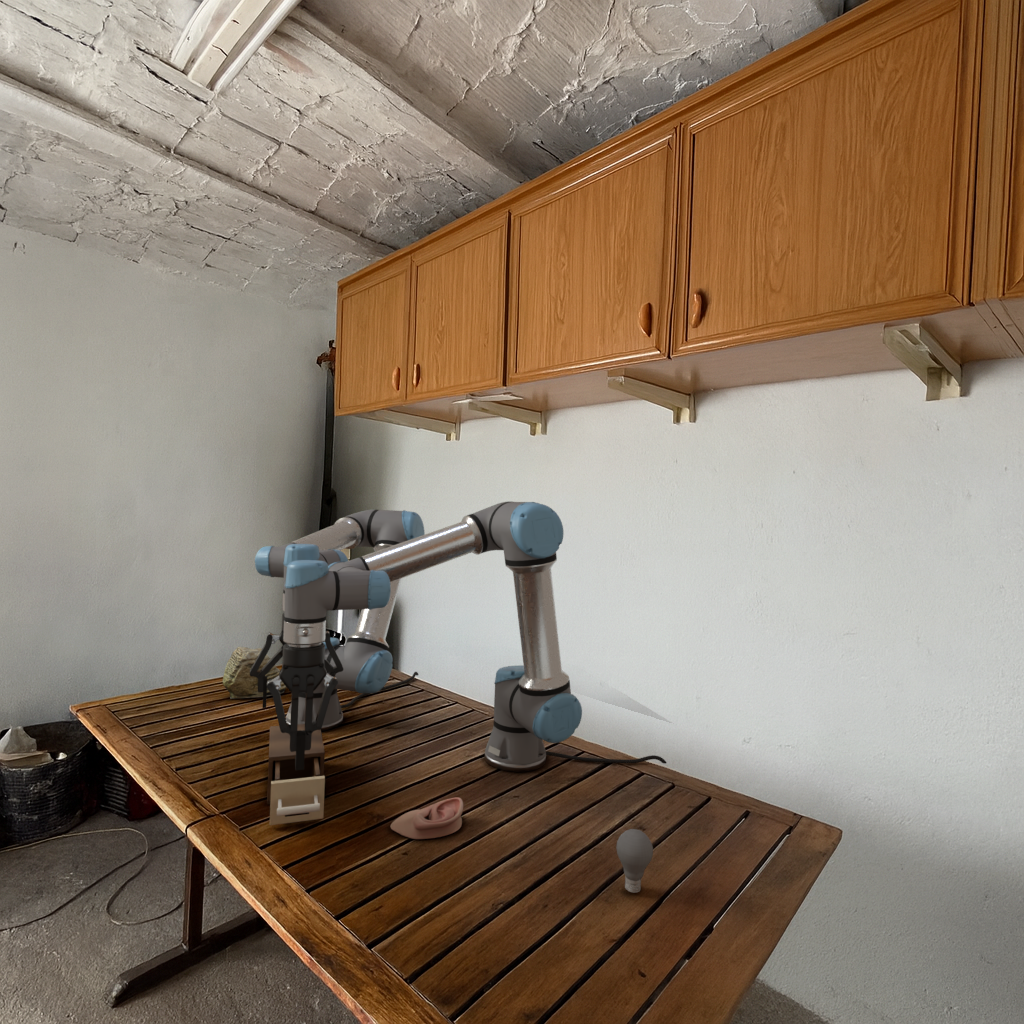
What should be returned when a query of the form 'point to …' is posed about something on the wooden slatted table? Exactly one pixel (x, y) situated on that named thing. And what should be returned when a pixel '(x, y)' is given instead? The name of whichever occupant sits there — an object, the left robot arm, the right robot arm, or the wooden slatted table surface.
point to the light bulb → (634, 857)
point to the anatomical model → (431, 820)
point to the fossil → (246, 674)
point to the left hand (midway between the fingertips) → (296, 704)
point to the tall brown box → (281, 751)
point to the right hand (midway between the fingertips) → (299, 767)
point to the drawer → (297, 792)
